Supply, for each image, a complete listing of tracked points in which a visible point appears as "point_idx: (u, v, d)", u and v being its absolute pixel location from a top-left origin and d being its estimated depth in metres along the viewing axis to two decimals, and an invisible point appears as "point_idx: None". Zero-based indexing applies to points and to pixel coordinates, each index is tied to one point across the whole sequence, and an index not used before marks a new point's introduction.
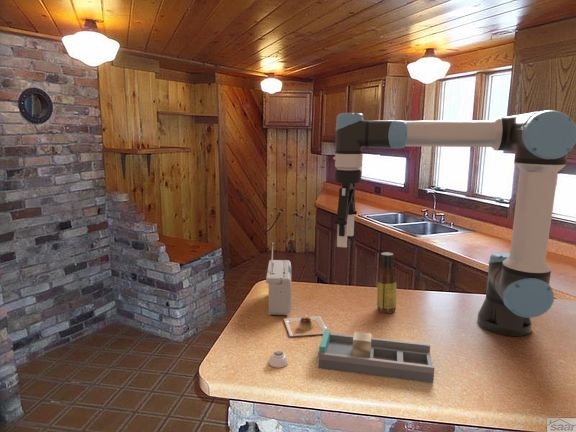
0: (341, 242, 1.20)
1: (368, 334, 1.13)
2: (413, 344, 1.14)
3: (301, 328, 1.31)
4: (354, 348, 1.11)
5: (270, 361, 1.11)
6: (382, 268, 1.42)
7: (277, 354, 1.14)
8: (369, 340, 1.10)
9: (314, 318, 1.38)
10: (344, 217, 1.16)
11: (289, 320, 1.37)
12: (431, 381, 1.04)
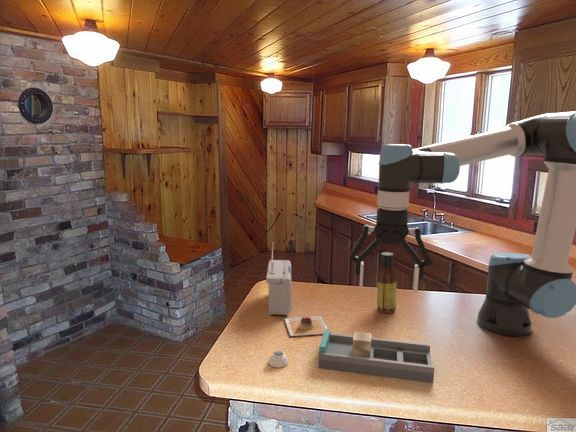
0: None
1: (368, 334, 1.13)
2: (413, 344, 1.14)
3: (302, 328, 1.31)
4: (354, 348, 1.11)
5: (270, 361, 1.11)
6: (382, 268, 1.42)
7: (277, 354, 1.14)
8: (369, 340, 1.10)
9: (314, 318, 1.38)
10: (351, 253, 1.09)
11: (290, 320, 1.37)
12: (431, 381, 1.04)
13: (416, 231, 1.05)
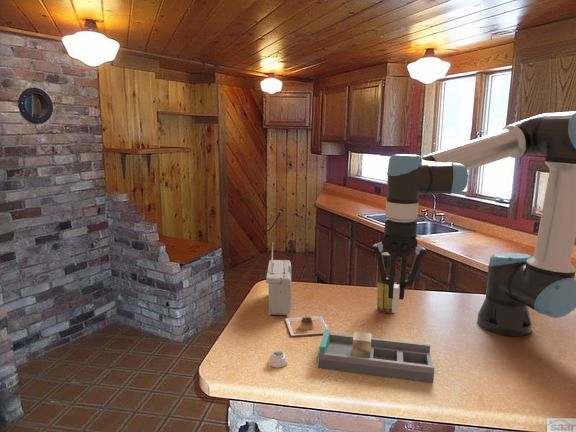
0: None
1: (368, 334, 1.13)
2: (413, 344, 1.14)
3: (302, 328, 1.31)
4: (354, 348, 1.11)
5: (270, 361, 1.11)
6: None
7: (277, 354, 1.14)
8: (369, 340, 1.10)
9: (315, 318, 1.38)
10: (381, 277, 1.07)
11: (290, 320, 1.37)
12: (431, 381, 1.04)
13: (422, 251, 1.03)
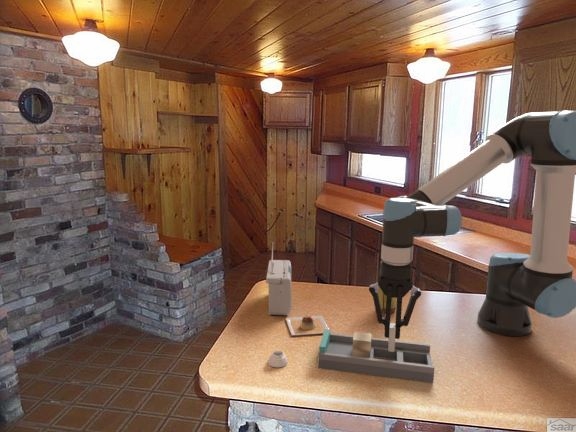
0: (388, 343, 1.11)
1: (368, 334, 1.13)
2: (413, 344, 1.14)
3: (303, 327, 1.31)
4: (354, 348, 1.11)
5: (269, 361, 1.11)
6: None
7: (276, 354, 1.14)
8: (369, 340, 1.10)
9: (316, 317, 1.39)
10: (377, 317, 1.09)
11: (291, 319, 1.37)
12: (431, 381, 1.04)
13: (417, 293, 1.05)
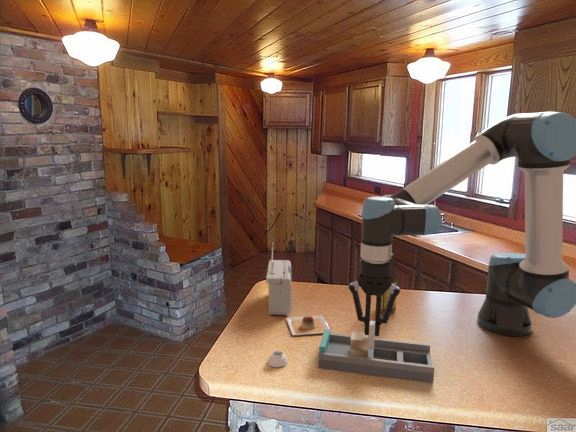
0: None
1: None
2: (413, 344, 1.14)
3: (303, 327, 1.31)
4: (352, 348, 1.11)
5: (269, 361, 1.11)
6: None
7: (276, 354, 1.14)
8: (367, 340, 1.10)
9: (316, 317, 1.39)
10: (357, 315, 1.10)
11: (291, 319, 1.37)
12: (431, 381, 1.04)
13: (396, 291, 1.06)
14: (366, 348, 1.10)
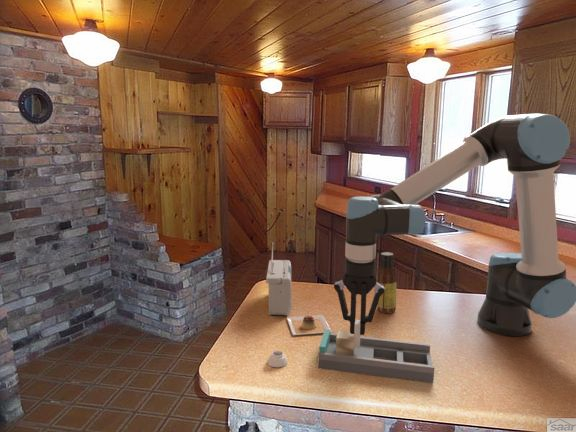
0: None
1: None
2: (413, 344, 1.14)
3: (304, 327, 1.32)
4: (337, 346, 1.12)
5: (269, 361, 1.11)
6: (382, 268, 1.42)
7: (276, 354, 1.14)
8: (352, 338, 1.11)
9: (317, 317, 1.39)
10: None
11: (292, 319, 1.37)
12: (431, 381, 1.04)
13: (380, 290, 1.07)
14: (351, 346, 1.11)
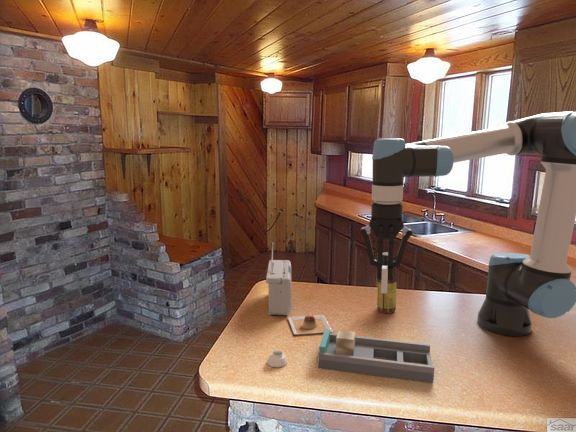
0: None
1: (352, 332, 1.14)
2: (413, 344, 1.14)
3: (305, 327, 1.32)
4: (337, 346, 1.12)
5: (269, 361, 1.11)
6: None
7: (276, 354, 1.14)
8: (352, 338, 1.11)
9: (318, 317, 1.39)
10: (369, 259, 1.10)
11: (293, 319, 1.38)
12: (431, 381, 1.04)
13: (408, 232, 1.06)
14: (351, 346, 1.11)
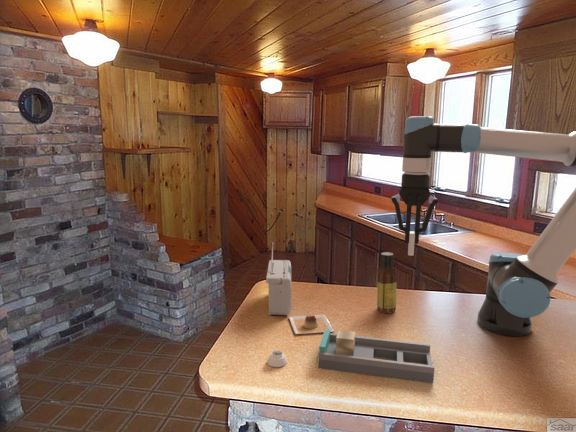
0: (408, 249, 1.25)
1: (352, 332, 1.14)
2: (413, 344, 1.14)
3: (306, 326, 1.32)
4: (337, 346, 1.12)
5: (269, 361, 1.11)
6: (382, 268, 1.42)
7: (276, 354, 1.14)
8: (352, 338, 1.11)
9: (319, 316, 1.39)
10: None
11: (294, 318, 1.38)
12: (431, 381, 1.04)
13: (434, 200, 1.19)
14: (351, 346, 1.11)
